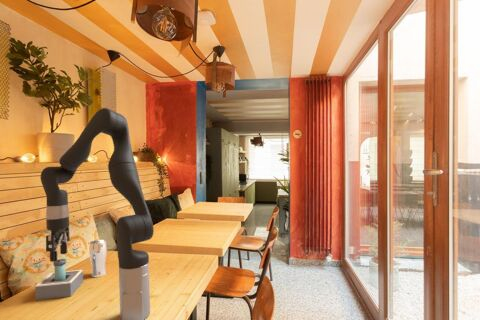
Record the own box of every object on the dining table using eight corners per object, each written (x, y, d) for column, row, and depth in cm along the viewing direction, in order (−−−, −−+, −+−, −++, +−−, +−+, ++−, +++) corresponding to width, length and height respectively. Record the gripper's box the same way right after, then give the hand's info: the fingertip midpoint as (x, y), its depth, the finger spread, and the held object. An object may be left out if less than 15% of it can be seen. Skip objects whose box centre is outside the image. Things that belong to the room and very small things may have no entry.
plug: (64, 292, 106) (63, 262, 105) (52, 293, 105) (51, 263, 105) (68, 287, 110) (67, 258, 110) (57, 288, 109) (56, 259, 109)
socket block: (70, 296, 102) (70, 282, 102) (35, 300, 100) (35, 285, 100) (83, 282, 114) (82, 269, 114) (51, 285, 112) (51, 272, 112)
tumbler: (103, 270, 127) (102, 238, 127) (110, 273, 122) (109, 241, 122) (87, 275, 121) (86, 242, 121) (93, 279, 117) (93, 245, 117)
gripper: (59, 219, 100) (61, 262, 100) (75, 212, 114) (76, 250, 114) (37, 221, 99) (38, 265, 99) (55, 213, 113) (57, 252, 113)
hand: (59, 257), depth 107 cm, fingers open, 8 cm apart
